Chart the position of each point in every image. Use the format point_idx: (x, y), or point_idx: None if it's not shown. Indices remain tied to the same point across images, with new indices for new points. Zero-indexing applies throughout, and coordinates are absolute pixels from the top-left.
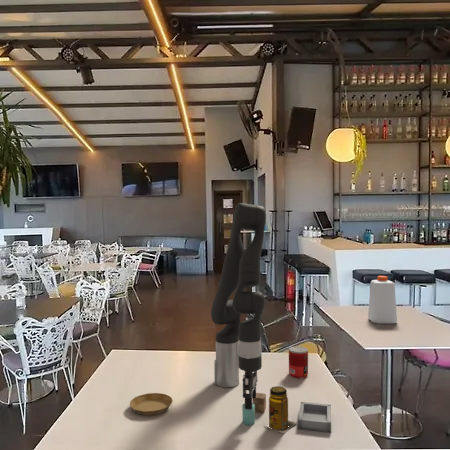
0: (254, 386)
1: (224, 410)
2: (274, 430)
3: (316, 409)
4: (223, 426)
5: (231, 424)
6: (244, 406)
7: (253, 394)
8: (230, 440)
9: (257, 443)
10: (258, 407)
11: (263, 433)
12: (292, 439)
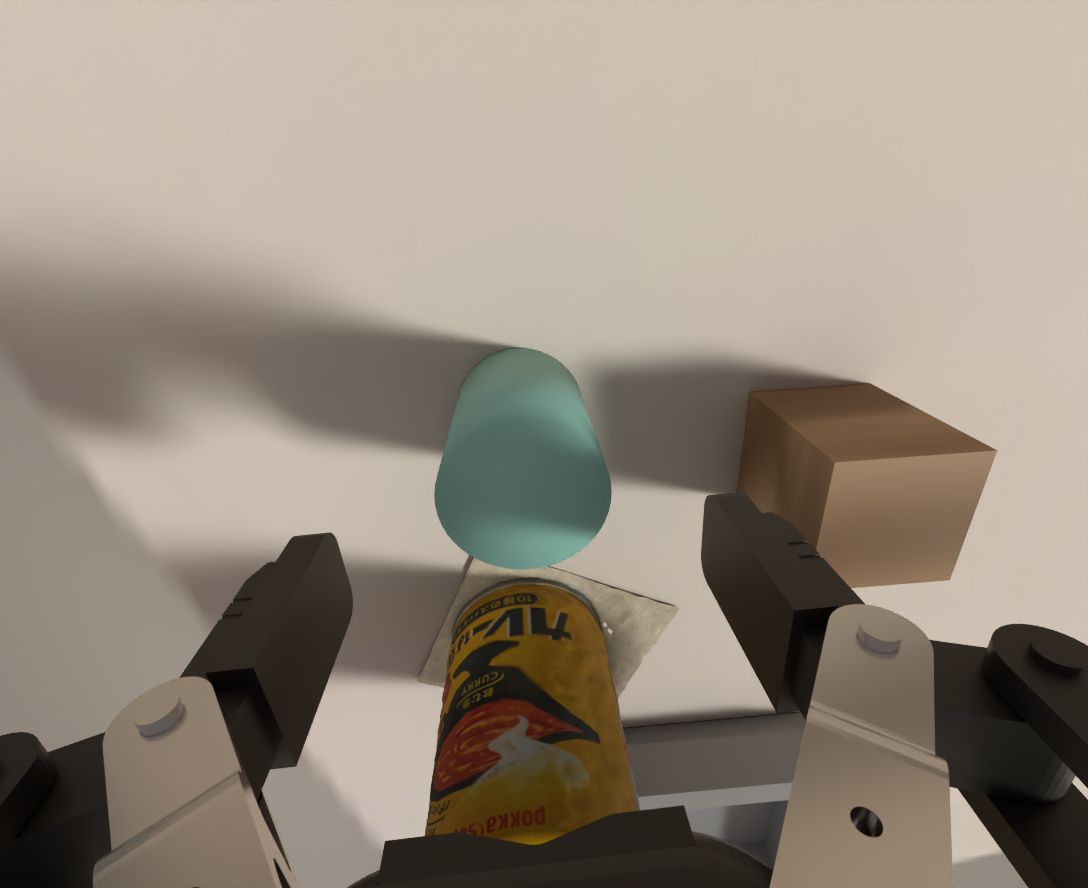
0: (796, 704)
1: (747, 25)
2: (445, 625)
3: (777, 815)
4: (324, 159)
5: (409, 245)
6: (472, 457)
7: (721, 579)
8: (88, 334)
9: (192, 560)
10: (763, 472)
11: (368, 566)
12: (374, 731)
